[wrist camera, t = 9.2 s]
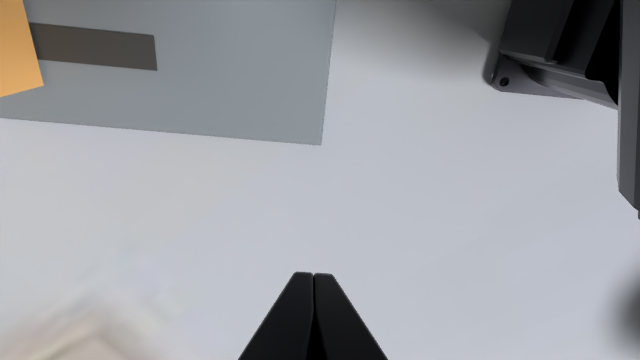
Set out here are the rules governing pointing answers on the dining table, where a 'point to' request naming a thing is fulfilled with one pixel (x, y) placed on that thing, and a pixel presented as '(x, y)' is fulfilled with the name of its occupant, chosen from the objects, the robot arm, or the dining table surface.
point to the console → (182, 66)
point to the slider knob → (16, 50)
